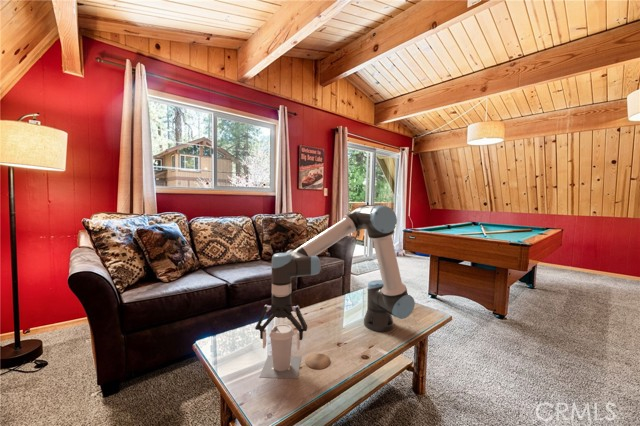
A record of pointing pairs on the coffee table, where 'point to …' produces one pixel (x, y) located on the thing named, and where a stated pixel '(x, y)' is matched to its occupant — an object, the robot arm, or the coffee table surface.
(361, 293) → the coffee table surface
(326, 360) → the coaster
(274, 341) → the coffee cup
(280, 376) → the tile
